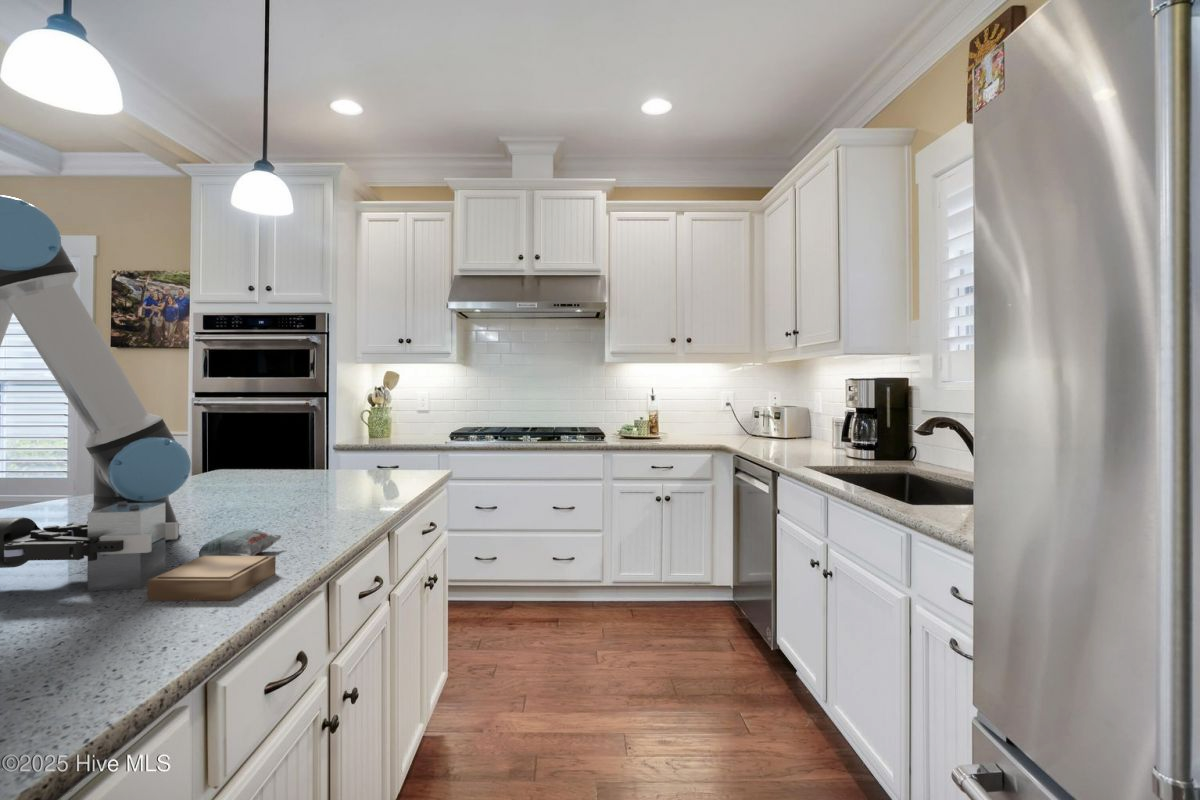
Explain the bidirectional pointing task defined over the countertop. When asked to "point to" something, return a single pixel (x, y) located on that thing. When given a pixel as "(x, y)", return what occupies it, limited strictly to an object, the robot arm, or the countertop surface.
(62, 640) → the countertop surface
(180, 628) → the countertop surface
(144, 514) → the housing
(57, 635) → the countertop surface
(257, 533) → the packaged food
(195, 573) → the stand
